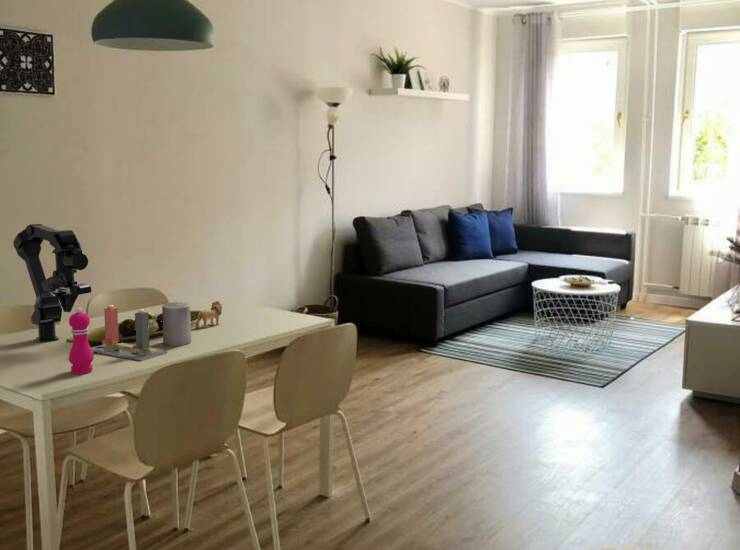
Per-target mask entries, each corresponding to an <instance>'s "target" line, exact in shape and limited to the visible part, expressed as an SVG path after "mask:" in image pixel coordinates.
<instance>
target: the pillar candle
mask: <svg viewBox="0 0 740 550" xmlns="http://www.w3.org/2000/svg"><path fill="white" fill-rule="evenodd" d="M161 308H162V310H161V311H162V312H161V313H162V320H163V326H162V342H163V345H165V346H169V347H181V346H186V345H189V344H191V343H192V324H191V323H192V322H191V321H192V320H191V304H190V303H188V302H180V301H178V302H177V301H175V302H168V303H164V304H162V305H161Z"/></svg>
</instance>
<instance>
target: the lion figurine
mask: <svg viewBox="0 0 740 550" xmlns="http://www.w3.org/2000/svg"><path fill="white" fill-rule="evenodd" d="M222 309H223V306H222V303H221V302H220V301H218V300H215V301H213V302H211V307H210V309H209V310H202V309H201V311H199V312H198V315H197V319H196V322H195V329H197V330H198V329H199V327H200V326H199V325H200V322H201V320H202V321H203V326H204V327H205V328H206V329H209V328H210V326H209V325H207V322H208V320H210V325H211V326H212V325H214V319H215V324H216V326H220V323H219V319H220V316H221V314H222Z"/></svg>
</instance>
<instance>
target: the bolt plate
mask: <svg viewBox="0 0 740 550" xmlns="http://www.w3.org/2000/svg"><path fill="white" fill-rule="evenodd" d="M134 345H135V344H133V343H127V342H121V343H115V344H108V343H107V344H106V347H105V348H104V347H103V344H100V345H97V346H93V347H91V349H92V352H97V353H96V354H99V353H102V354H101V355H104V354H107V355H106V356H110V355H112V357H116V356H117V358H121V357H122V358H121V359H127V358H128V360H133V359H134V361H138V360H139V361H140V362H143V361H145V360H148V359H152V358H155V357H158V356H161V355H164V354H167V353H168V350H167V349H163V348H158V347H151V346H149V348H146V349H136V353H134V349H133V346H134Z"/></svg>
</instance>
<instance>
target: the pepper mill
mask: <svg viewBox="0 0 740 550" xmlns="http://www.w3.org/2000/svg"><path fill="white" fill-rule="evenodd" d="M82 311H83V309H82V308H81V307H77V308H76V309H75V313H73V314H72V315H70V317H69V318H68V324H69V326H70V327H71V330H70V331H71V335H72V344H71V345H72V346H71V348H70V351H69V355H68V362H69V363H70V365H71V366H70V372H72V374H73V373H74V374H73V375H84V374H83V373H86V374H89V373H88V372H90V373H92V372H93V371H92V370H93V364H92V362H93V361H94V359H95V356H94V353H93V352H92V349H91V348H92V347H91V346H90V343H89V339H88V333H89V328H88V326H90V323H91V320H90V317H89V315H88V314H87V313H84V312H82ZM91 371H92V372H91Z"/></svg>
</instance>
